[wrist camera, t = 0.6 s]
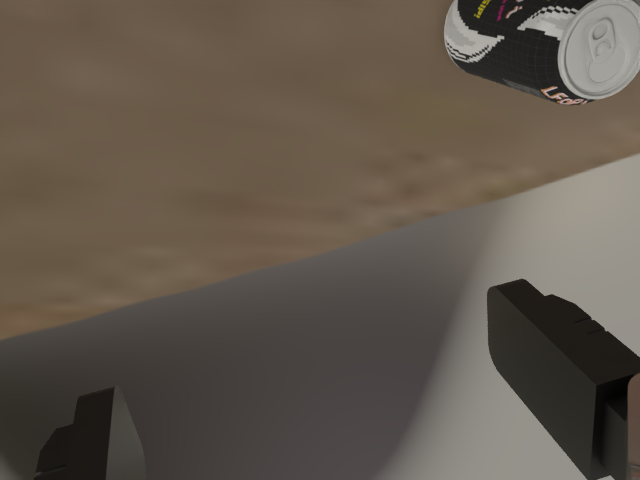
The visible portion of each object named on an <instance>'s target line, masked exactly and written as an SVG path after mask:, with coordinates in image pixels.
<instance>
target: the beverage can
mask: <svg viewBox="0 0 640 480" xmlns="http://www.w3.org/2000/svg"><path fill="white" fill-rule="evenodd" d="M444 39H445V45H446V48H447V51H448V54H449V56H450V57H451V59H452V61H453V62H454V63H455V64H456V65H457V66H458V67H459V68H461V69H462V70H463V71H465V72H467V73H470V74H472V75H475V76H478V77H481V78H484V79H487V80H490V81H493V82H496V83H499V84H502V85H505V86H508V87H511V88H514V89H517V90H520V91H523V92H526V93H529V94H532V95H535V96H537V97H540V98H543V99H546V100H549V101H552V102H555V103H558V104H564V105H579V104H585V103H588V102H591V101H594V100H596V99H603V98H606V97H609V96H612V95H613V94H615V93H617V92H619V91H620V90H622V89H623V88H624V87H626V86H627V85H628V84H629V83H630V82H631V81H632V79H633V78H634V77H635V76H636V74H637V73H638V71H639V70H640V6H639V5H638V4H636V3H635V2H634V1H633V0H454V1H453V3H452V5H451V6H450V9H449V11H448V14H447V16H446V21H445V26H444Z"/></svg>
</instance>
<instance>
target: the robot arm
mask: <svg viewBox="0 0 640 480" xmlns="http://www.w3.org/2000/svg"><path fill="white" fill-rule="evenodd" d="M487 311H488V312H487V314H488V345H489V351H490V355H491V358H492V361H493V363H494V365H495V367H496V369H497V371H498V372H499V373H500V374H501V376H502V377H503V378H504V379H505V380H506V382H507V383H508V384H509V385H510V387H511V388H512V389H513V390H514V391H515V393H516V394H517V395H518V396H519V397H520V399H521V400H522V401H523V402H524V404H525V405H526V406H527V407H528V408H529V410H530V411H531V412H532V413H533V414H534V416H535V417H536V418H537V419H538V420H539V422H540V423H541V424H542V425H543V426H544V428H545V429H546V430H547V431H548V432H549V434H550V435H551V436H552V437H553V439H554V440H555V441H556V442H557V443H558V445H559V446H560V447H561V448H562V449H563V451H564V452H565V453H566V454H567V456H568V457H569V458H570V459H571V460H572V462H573V463H574V464H575V465H576V466H577V468H578V469H579V470H580V471H581V472H582V474H583V475H584V476H585V477H586V478H587V480H597V479H600V478H603V477H606V476H609V475H611V476H612V477H613V478H614V479H615V480H640V357H639V356H637V355H636V354H635V353H634V352H632V351H631V350H630V349H629V348H628V347H627V346H625V345H624V344H623V343H622V342H620V341H619V340H618V339H617V338H616V337H614V336H613V335H612V334H611V333H609V332H608V331H607V332H606V331H605V330H604V327H602V326H601V325H600V324H599V323H597V322H596V321H595V320H592V319H591V317H590V316H589V315H588V314H587V313H585V312H584V311H583V310H582V309H581V308H579V307H578V306H577V305H576V304H574V303H572V302H569V301H567V300H564V299H562V298H560V297H557V296H555V295H552V294H551V295H548V296H544V295H543V294H541V293H540V292H539V291H538V290H537V289H536V288H535V287H533V286H532V285H531V284H530V283H529V282H528V281H526V280H524V279H519V280H516V281H512V282H508V283H504V284H501V285H497V286H493V287H490V288H489V290H488V293H487ZM34 480H146V468H145V459H144V454H143V450H142V446H141V442H140V440H139V437H138V434H137V432H136V429H135V426H134V424H133V421H132V418H131V416H130V413H129V410H128V408H127V405H126V403H125V400H124V397H123V395H122V392H121V390H120V389H119V387H117V386H115V387H111V388H108V389H104V390H101V391H97V392H93V393H89V394H85V395H82V396H79V397H78V400H77V405H76V411H75V417H74V422H73V424H72V425H68V426H65V427H61V428H57V429H56V430H55V431H54V433H53V434H52V435H51V437H50V438H49V440H48V441H47V443H46V444H45V445H44V447H43V448H42V450H41V451H40V456H39V460H38V464H37V469H36V477H35V478H34Z"/></svg>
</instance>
